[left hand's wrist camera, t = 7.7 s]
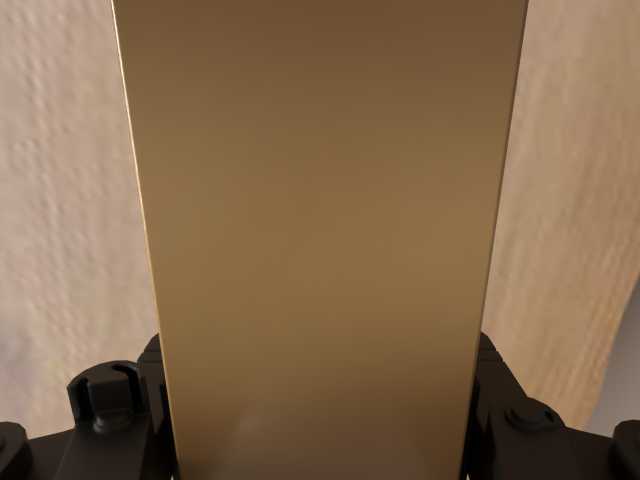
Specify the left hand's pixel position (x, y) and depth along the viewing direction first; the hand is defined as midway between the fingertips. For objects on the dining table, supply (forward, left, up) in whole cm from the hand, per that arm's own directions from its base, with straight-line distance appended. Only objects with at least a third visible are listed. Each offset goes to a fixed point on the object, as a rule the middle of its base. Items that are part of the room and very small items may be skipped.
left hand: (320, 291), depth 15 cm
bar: (+7, +2, -1) cm, 7 cm away
